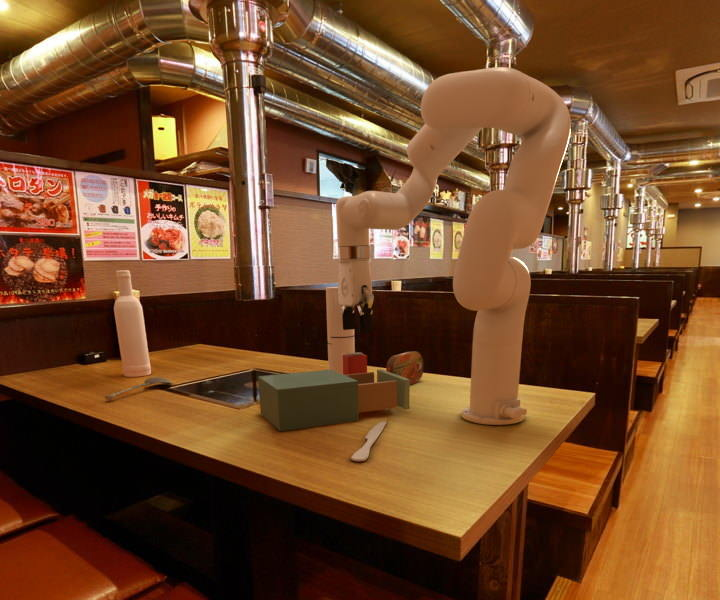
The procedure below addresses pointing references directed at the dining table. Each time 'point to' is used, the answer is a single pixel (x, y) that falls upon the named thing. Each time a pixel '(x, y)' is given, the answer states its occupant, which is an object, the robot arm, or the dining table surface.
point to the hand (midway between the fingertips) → (357, 330)
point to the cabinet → (308, 399)
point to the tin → (407, 366)
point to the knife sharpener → (354, 363)
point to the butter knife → (368, 442)
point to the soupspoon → (147, 382)
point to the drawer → (381, 391)
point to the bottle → (131, 329)
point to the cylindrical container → (337, 332)
